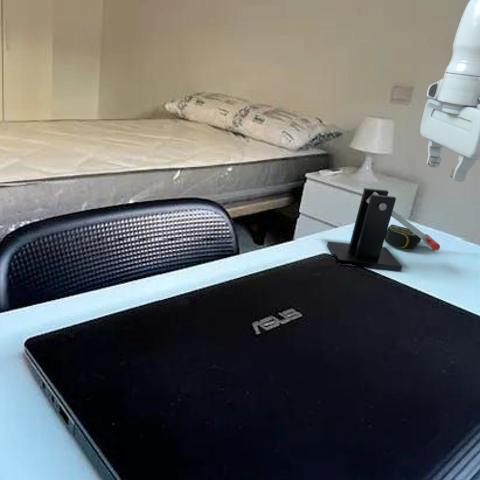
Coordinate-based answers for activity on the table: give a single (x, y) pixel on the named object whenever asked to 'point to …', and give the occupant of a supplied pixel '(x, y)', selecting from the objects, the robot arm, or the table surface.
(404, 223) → the lever
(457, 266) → the table surface
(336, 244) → the bracket
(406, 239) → the tape measure
